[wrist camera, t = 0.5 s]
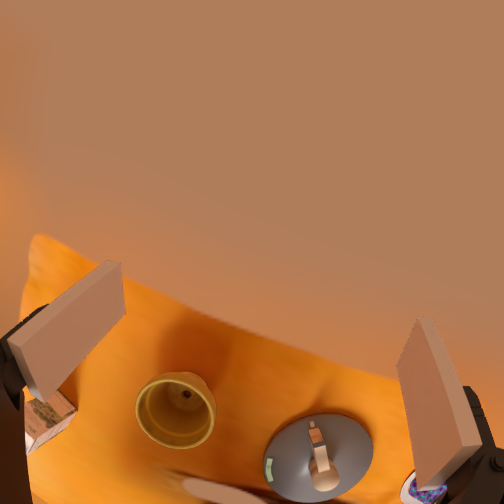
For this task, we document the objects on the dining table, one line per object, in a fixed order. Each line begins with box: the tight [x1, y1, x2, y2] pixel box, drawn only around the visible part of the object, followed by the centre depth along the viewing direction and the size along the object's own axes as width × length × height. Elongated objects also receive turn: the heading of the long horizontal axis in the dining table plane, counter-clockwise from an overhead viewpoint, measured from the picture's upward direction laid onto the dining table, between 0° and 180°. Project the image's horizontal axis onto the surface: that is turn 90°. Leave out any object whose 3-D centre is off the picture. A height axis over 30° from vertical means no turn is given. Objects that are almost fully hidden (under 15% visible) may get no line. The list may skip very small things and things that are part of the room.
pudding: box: [400, 472, 447, 504], centre depth 39 cm, size 12×12×5 cm
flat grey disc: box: [263, 413, 373, 502], centre depth 42 cm, size 18×18×2 cm
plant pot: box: [135, 371, 217, 449], centre depth 39 cm, size 10×10×10 cm
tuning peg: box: [308, 427, 340, 491], centre depth 38 cm, size 10×4×5 cm, turn 13°
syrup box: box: [24, 390, 78, 455], centre depth 36 cm, size 6×6×14 cm
